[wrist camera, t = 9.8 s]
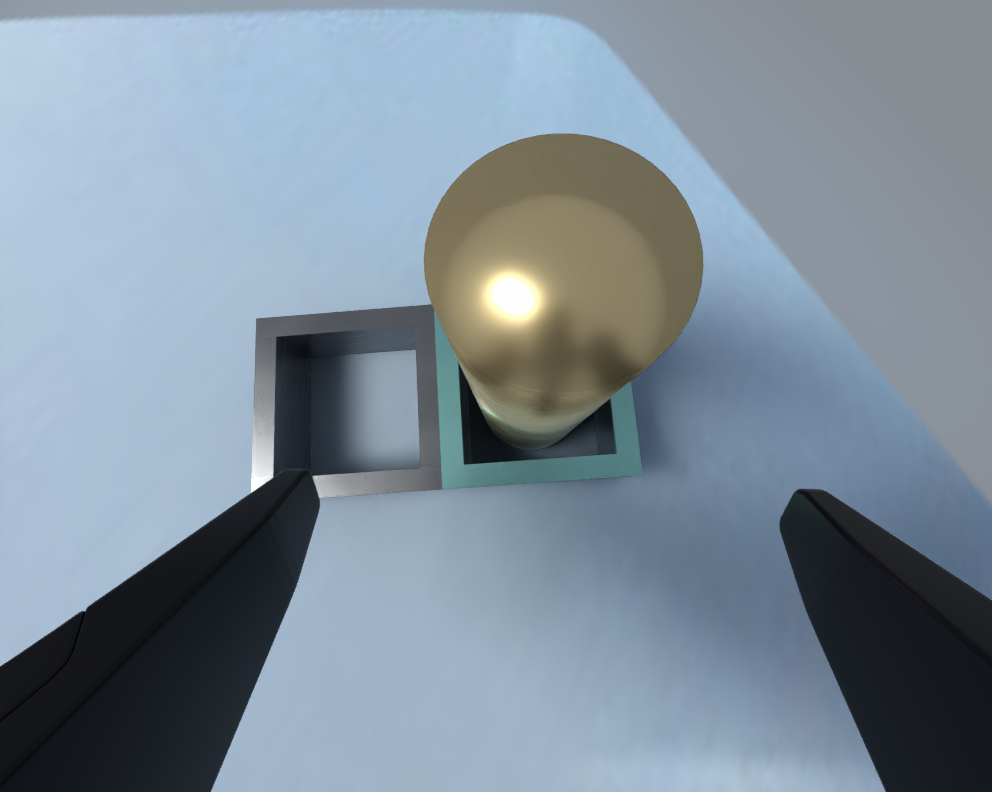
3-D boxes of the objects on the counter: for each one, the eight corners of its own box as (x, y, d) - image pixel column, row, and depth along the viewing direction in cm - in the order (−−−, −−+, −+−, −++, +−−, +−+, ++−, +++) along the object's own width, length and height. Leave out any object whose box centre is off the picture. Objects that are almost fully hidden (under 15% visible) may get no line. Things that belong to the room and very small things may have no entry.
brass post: (591, 433, 19) (746, 343, 6) (497, 462, 19) (466, 427, 6) (561, 343, 20) (646, 103, 7) (470, 370, 20) (395, 175, 7)
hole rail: (601, 317, 20) (618, 286, 17) (620, 476, 19) (643, 475, 16) (293, 341, 20) (252, 315, 17) (291, 499, 19) (246, 503, 16)
